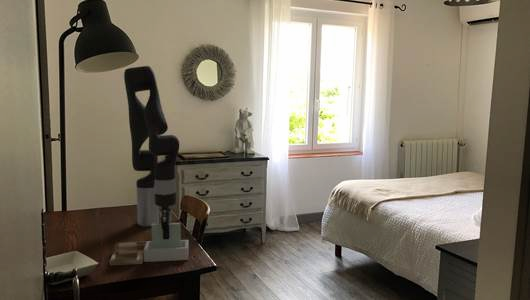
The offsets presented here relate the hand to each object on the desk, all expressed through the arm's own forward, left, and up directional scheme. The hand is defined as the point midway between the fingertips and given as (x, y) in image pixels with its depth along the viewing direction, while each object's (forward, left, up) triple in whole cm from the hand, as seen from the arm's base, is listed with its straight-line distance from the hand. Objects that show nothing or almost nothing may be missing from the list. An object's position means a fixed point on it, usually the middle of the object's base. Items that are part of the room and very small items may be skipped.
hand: (166, 238), depth 169 cm
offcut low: (+4, -13, -5) cm, 15 cm away
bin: (0, 0, -7) cm, 7 cm away
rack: (0, -13, -7) cm, 15 cm away
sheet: (0, 0, -4) cm, 4 cm away
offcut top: (+5, -13, -3) cm, 14 cm away
